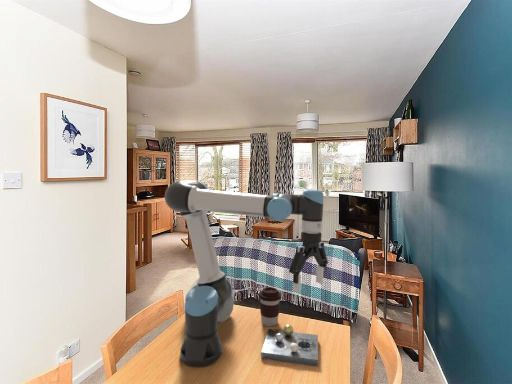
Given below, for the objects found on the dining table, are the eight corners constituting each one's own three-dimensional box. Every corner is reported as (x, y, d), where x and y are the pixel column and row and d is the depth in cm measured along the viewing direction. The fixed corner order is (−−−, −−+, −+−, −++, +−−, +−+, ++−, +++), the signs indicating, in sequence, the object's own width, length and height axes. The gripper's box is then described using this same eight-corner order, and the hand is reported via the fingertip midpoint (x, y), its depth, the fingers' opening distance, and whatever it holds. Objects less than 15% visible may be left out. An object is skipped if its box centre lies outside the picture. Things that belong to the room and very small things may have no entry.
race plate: (261, 358, 106) (261, 352, 106) (268, 334, 122) (268, 329, 122) (317, 366, 102) (317, 359, 102) (317, 341, 118) (317, 335, 118)
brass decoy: (282, 336, 116) (282, 327, 116) (283, 331, 120) (284, 322, 120) (292, 338, 115) (293, 328, 115) (293, 332, 119) (293, 323, 119)
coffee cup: (279, 329, 126) (279, 295, 125) (256, 326, 128) (256, 293, 127) (281, 318, 136) (282, 286, 135) (260, 316, 138) (261, 284, 137)
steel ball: (274, 343, 112) (274, 335, 111) (275, 338, 115) (275, 330, 115) (282, 344, 111) (283, 336, 111) (283, 339, 114) (283, 331, 114)
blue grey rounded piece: (233, 313, 140) (234, 272, 139) (233, 321, 133) (233, 278, 131) (188, 314, 139) (188, 273, 137) (185, 322, 131) (185, 278, 130)
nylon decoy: (289, 353, 106) (289, 345, 105) (290, 348, 109) (290, 340, 108) (297, 354, 105) (298, 346, 105) (298, 349, 108) (298, 341, 108)
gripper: (297, 237, 99) (294, 299, 100) (338, 229, 115) (335, 282, 117) (280, 233, 104) (278, 291, 106) (323, 226, 121) (320, 276, 122)
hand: (308, 286), depth 111 cm, fingers open, 13 cm apart
